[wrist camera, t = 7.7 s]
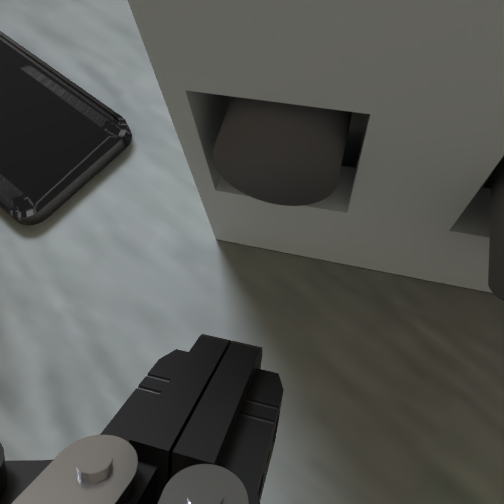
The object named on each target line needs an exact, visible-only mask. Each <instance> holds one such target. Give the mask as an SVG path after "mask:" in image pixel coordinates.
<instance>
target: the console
mask: <svg viewBox="0 0 504 504" xmlns="http://www.w3.org/2000/svg"><path fill="white" fill-rule="evenodd" d="M128 2H129V5H130V7H131V10H132V13H133V16H134V18H135V21H136V24H137V26H138V29H139V32H140V35H141V37H142V40H143V43H144V45H145V48H146V51H147V54H148V56H149V59H150V62H151V64H152V67H153V70H154V73H155V75H156V78H157V81H158V83H159V86H160V89H161V91H162V94H163V97H164V100H165V102H166V105H167V108H168V110H169V113H170V116H171V119H172V121H173V124H174V127H175V129H176V132H177V135H178V138H179V140H180V143H181V146H182V148H183V151H184V154H185V157H186V159H187V162H188V165H189V167H190V170H191V173H192V175H193V178H194V181H195V184H196V186H197V189H198V192H199V194H200V197H201V200H202V203H203V205H204V208H205V211H206V213H207V216H208V219H209V222H210V224H211V227H212V230H213V232H214V235H215V238H216V239H218V240H223V241H228V242H233V243H238V244H243V245H248V246H254V247H259V248H264V249H269V250H274V251H279V252H284V253H290V254H295V255H300V256H305V257H310V258H315V259H320V260H325V261H331V262H336V263H341V264H346V265H351V266H356V267H361V268H367V269H372V270H377V271H382V272H387V273H392V274H397V275H403V276H408V277H413V278H418V279H423V280H428V281H433V282H438V283H444V284H449V285H454V286H459V287H464V288H469V289H474V290H480V291H485V292H490V293H493V292H492V291H491V290H490V288H489V286H488V270H489V241H490V212H491V183H492V171H493V170H494V168H495V167H496V166H497V164H498V163H499V161H500V160H501V159H502V157H503V156H504V0H128ZM232 96H233V97H240V98H248V99H256V100H264V101H271V102H279V103H287V104H295V105H302V106H310V107H318V108H325V109H333V110H341V111H349V112H352V115H351V120H350V125H349V130H348V135H347V140H346V145H345V150H344V154H343V159H342V164H341V169H340V174H339V179H338V183H337V186H336V188H335V190H334V191H333V192H332V194H331V195H329V196H328V197H327V198H325V199H323V200H321V201H319V202H317V203H313V204H309V205H302V206H285V205H277V204H272V203H268V202H264V201H261V200H258V199H255V198H253V197H250V196H248V195H246V194H244V193H242V192H241V191H239V190H237V189H236V188H234V187H233V186H232V185H230V184H229V183H228V182H227V181H226V180H225V179H224V178H223V177H222V176H221V175H220V173H219V172H218V170H217V169H216V167H215V164H214V162H213V149H214V145H215V143H216V140H217V137H218V134H219V131H220V129H221V126H222V123H223V120H224V117H225V114H226V112H227V109H228V106H229V103H230V100H231V98H232Z"/></svg>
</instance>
